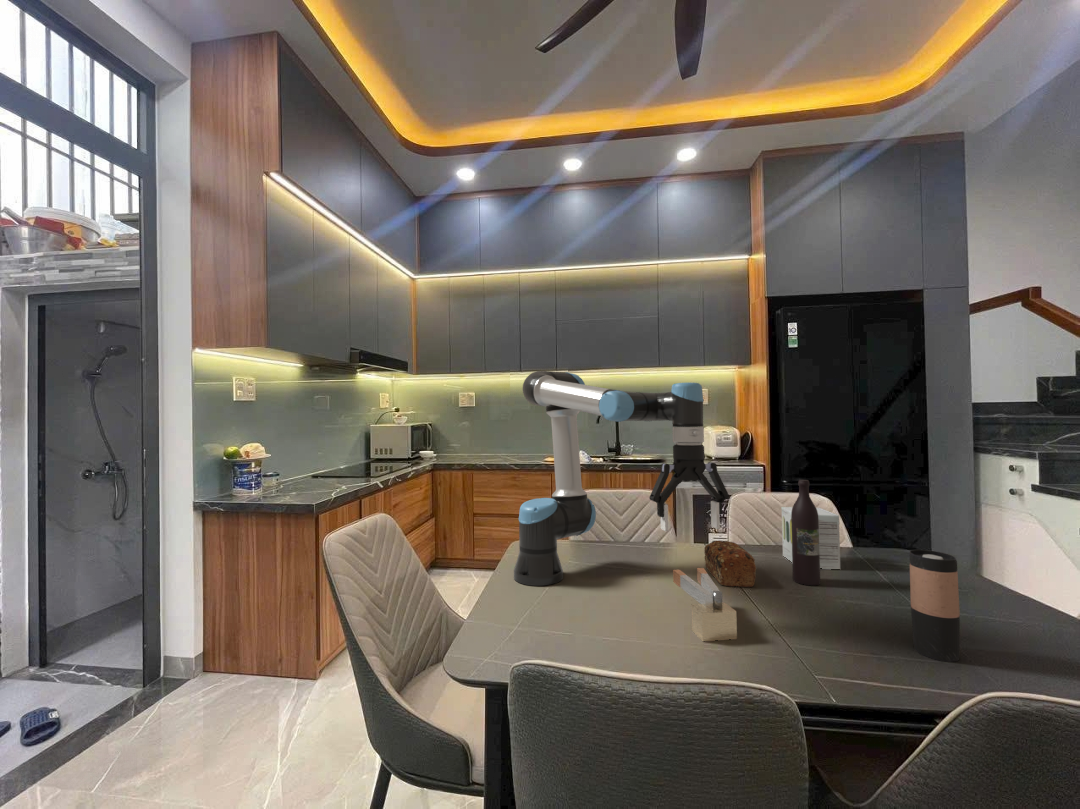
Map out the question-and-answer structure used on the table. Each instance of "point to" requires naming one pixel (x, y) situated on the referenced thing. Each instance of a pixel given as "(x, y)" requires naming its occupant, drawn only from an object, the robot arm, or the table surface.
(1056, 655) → the table surface
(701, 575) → the tong arm
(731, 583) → the bread
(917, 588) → the travel mug
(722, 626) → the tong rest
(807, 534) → the wine bottle
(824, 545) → the supplement box
